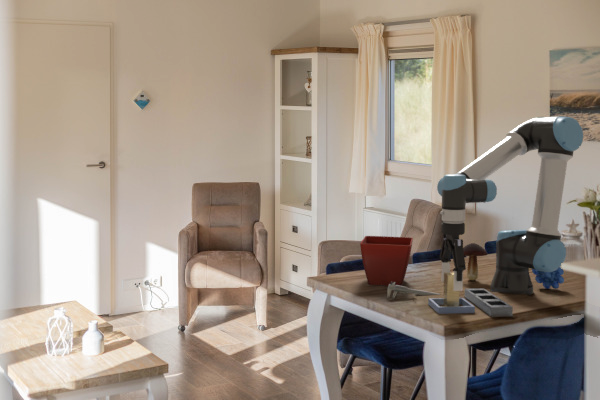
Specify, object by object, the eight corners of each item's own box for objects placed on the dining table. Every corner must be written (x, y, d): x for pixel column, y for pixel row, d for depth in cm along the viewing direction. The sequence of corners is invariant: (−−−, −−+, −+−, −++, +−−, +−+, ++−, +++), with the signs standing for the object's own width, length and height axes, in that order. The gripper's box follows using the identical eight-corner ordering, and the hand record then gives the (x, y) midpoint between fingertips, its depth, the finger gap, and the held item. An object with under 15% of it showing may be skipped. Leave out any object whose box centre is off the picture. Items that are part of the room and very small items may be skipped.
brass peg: (455, 307, 234) (455, 272, 233) (458, 311, 230) (459, 274, 229) (443, 308, 234) (444, 272, 233) (446, 311, 230) (447, 275, 229)
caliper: (387, 299, 250) (388, 281, 249) (387, 298, 251) (387, 281, 251) (443, 298, 252) (444, 280, 251) (442, 297, 253) (443, 280, 252)
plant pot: (409, 289, 265) (410, 244, 263) (359, 286, 268) (359, 243, 267) (412, 278, 283) (412, 237, 282) (364, 276, 287) (365, 235, 285)
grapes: (529, 289, 265) (530, 257, 264) (532, 285, 271) (533, 255, 270) (562, 292, 259) (563, 260, 258) (564, 289, 265) (565, 257, 264)
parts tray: (462, 306, 239) (463, 297, 238) (474, 315, 227) (474, 306, 227) (428, 307, 238) (428, 298, 237) (438, 316, 226) (438, 307, 225)
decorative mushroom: (455, 281, 278) (456, 244, 276) (462, 276, 287) (463, 240, 286) (483, 284, 273) (484, 246, 271) (489, 279, 282) (490, 242, 281)
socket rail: (464, 299, 248) (464, 288, 248) (483, 299, 249) (484, 288, 248) (490, 319, 222) (491, 307, 222) (512, 319, 223) (512, 306, 222)
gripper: (431, 217, 241) (430, 278, 243) (453, 227, 217) (451, 295, 219) (452, 217, 242) (451, 277, 244) (477, 227, 217) (475, 294, 219)
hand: (451, 286), depth 231 cm, fingers open, 13 cm apart
